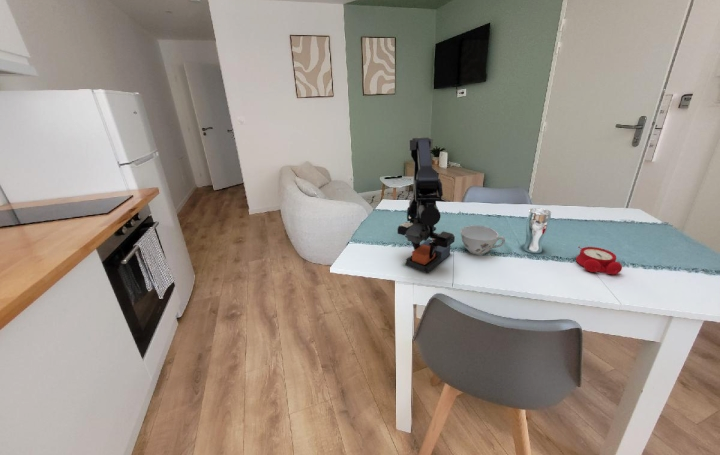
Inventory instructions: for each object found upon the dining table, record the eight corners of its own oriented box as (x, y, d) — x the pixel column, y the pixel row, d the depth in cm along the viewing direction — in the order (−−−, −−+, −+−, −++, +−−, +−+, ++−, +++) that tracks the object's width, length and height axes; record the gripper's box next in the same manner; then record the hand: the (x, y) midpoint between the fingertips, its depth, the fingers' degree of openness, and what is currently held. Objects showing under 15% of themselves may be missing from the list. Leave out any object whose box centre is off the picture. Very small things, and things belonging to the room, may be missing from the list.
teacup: (459, 257, 104) (460, 237, 100) (458, 242, 115) (460, 224, 111) (505, 262, 99) (508, 241, 96) (500, 246, 110) (503, 226, 107)
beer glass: (537, 245, 110) (545, 207, 104) (547, 253, 103) (556, 214, 97) (518, 245, 110) (525, 207, 104) (526, 253, 104) (534, 214, 98)
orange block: (422, 253, 104) (422, 244, 103) (435, 257, 101) (435, 248, 100) (411, 260, 100) (412, 251, 98) (424, 265, 96) (425, 256, 95)
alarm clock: (609, 247, 98) (633, 259, 84) (605, 265, 99) (629, 279, 85) (573, 244, 101) (590, 255, 87) (570, 261, 102) (586, 274, 88)
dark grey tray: (428, 248, 111) (428, 239, 110) (449, 255, 106) (450, 245, 104) (405, 265, 101) (405, 254, 99) (427, 273, 95) (428, 262, 94)
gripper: (387, 215, 94) (388, 257, 101) (439, 228, 83) (436, 275, 89) (406, 206, 102) (406, 245, 108) (457, 217, 90) (453, 260, 96)
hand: (423, 256), depth 100 cm, fingers closed on orange block, 5 cm apart
